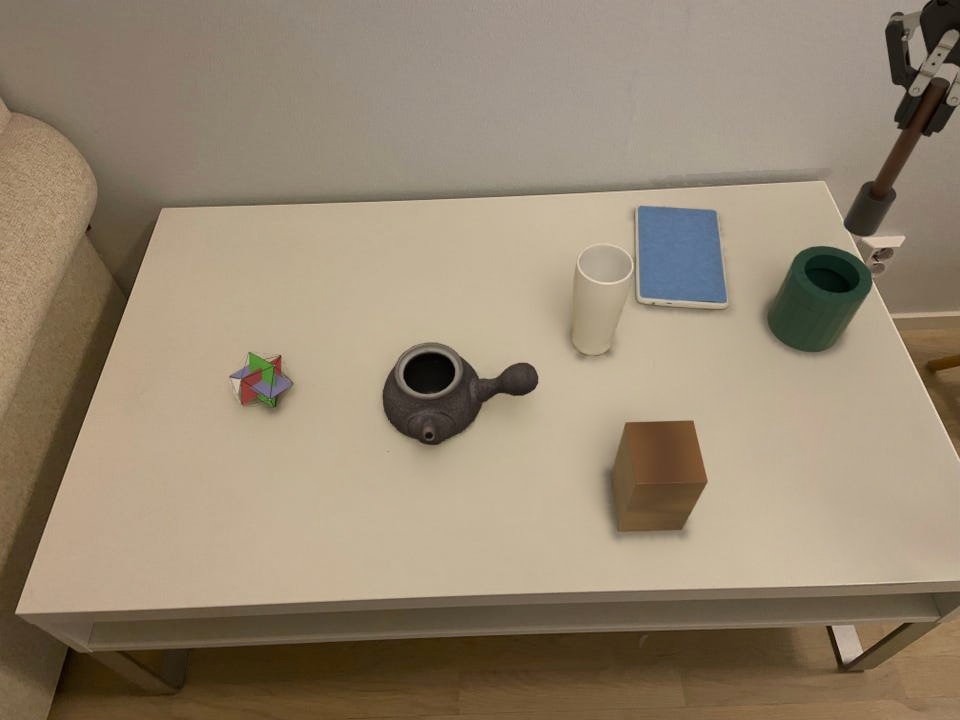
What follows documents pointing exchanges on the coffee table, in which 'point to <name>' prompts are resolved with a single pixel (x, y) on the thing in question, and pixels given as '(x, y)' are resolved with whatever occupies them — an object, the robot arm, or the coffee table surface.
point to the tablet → (680, 258)
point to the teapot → (444, 391)
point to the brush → (893, 166)
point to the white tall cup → (599, 296)
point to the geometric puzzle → (259, 380)
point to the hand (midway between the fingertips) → (914, 128)
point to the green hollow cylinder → (819, 298)
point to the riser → (657, 475)
